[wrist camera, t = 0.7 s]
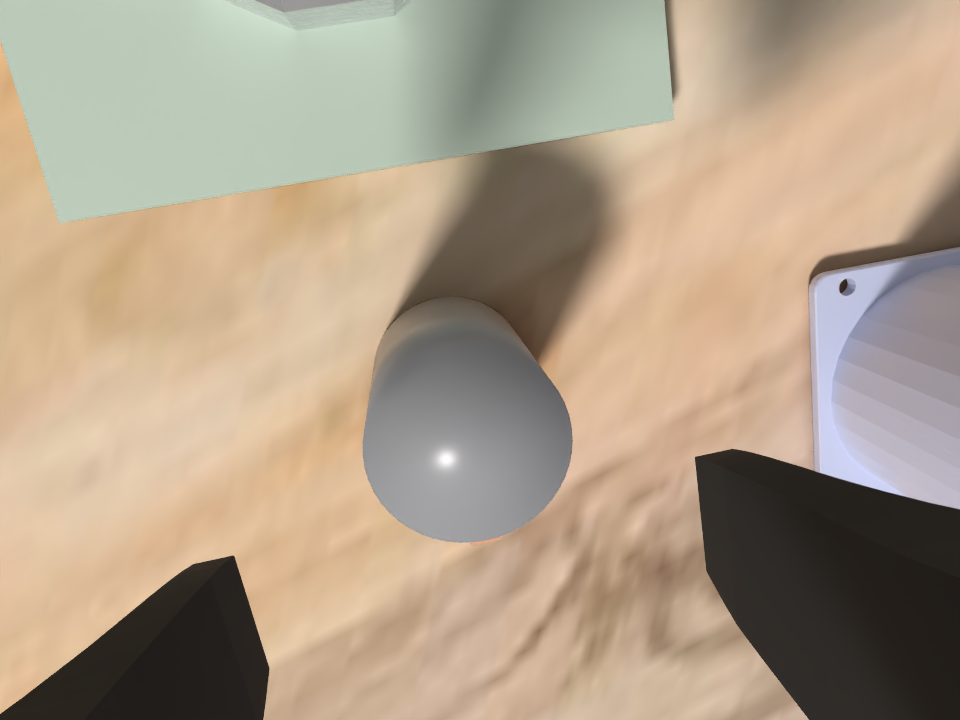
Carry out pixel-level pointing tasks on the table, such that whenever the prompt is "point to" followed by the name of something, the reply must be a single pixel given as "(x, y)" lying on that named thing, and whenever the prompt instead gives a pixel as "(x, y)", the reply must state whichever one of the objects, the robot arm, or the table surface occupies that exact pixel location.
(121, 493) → the table surface
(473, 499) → the grey rounded block
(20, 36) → the plate
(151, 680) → the robot arm
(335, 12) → the duct collar
